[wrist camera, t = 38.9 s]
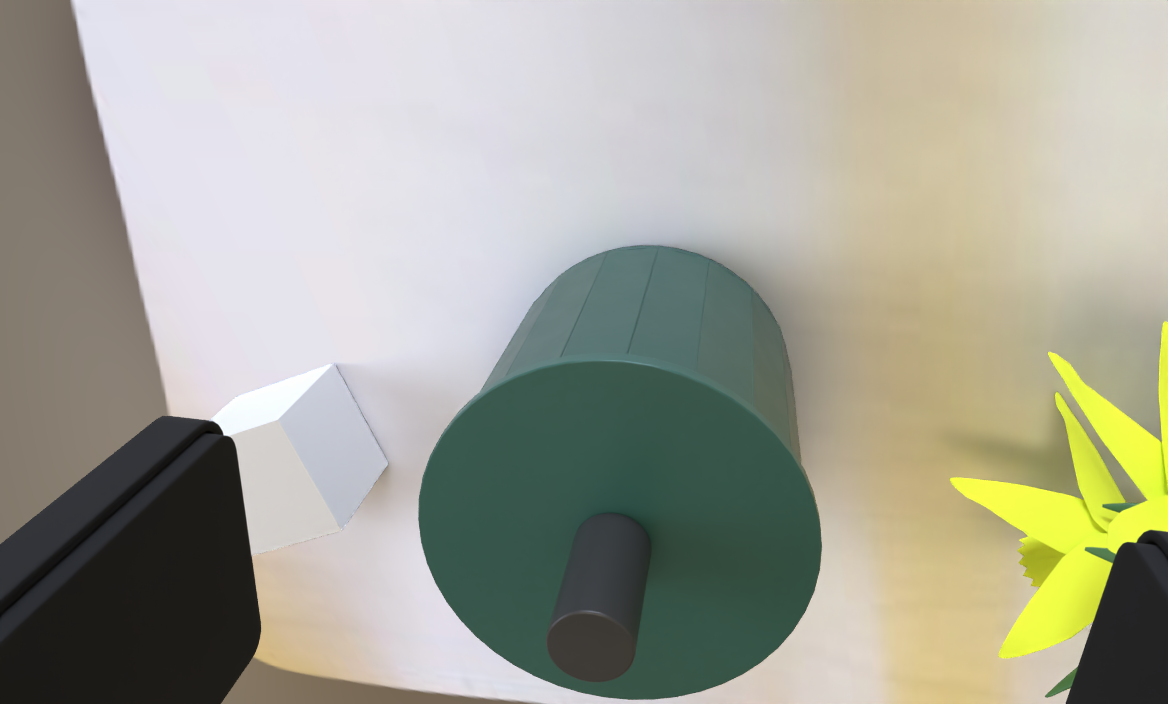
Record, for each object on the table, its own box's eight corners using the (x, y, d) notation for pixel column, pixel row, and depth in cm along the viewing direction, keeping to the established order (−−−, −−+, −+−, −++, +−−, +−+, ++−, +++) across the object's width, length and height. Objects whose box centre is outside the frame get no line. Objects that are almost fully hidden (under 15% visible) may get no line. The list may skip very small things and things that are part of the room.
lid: (847, 366, 28) (873, 471, 22) (792, 700, 34) (801, 851, 28) (420, 325, 30) (345, 413, 24) (435, 649, 35) (377, 781, 30)
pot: (807, 255, 39) (832, 381, 28) (771, 507, 44) (779, 700, 33) (518, 231, 41) (430, 341, 29) (517, 477, 46) (442, 650, 34)
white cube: (334, 361, 45) (278, 419, 39) (389, 463, 47) (342, 531, 41) (235, 396, 47) (169, 455, 41) (292, 492, 48) (236, 561, 43)
